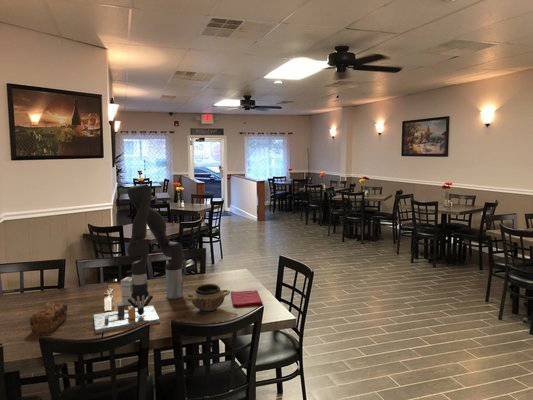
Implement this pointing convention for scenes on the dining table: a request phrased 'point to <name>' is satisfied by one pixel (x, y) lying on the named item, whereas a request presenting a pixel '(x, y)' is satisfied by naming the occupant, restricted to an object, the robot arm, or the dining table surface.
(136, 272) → the robot arm
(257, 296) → the dish towel
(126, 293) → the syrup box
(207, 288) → the ceramic bowl
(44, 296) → the dining table surface
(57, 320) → the bread
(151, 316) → the console panel
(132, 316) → the fader knob
